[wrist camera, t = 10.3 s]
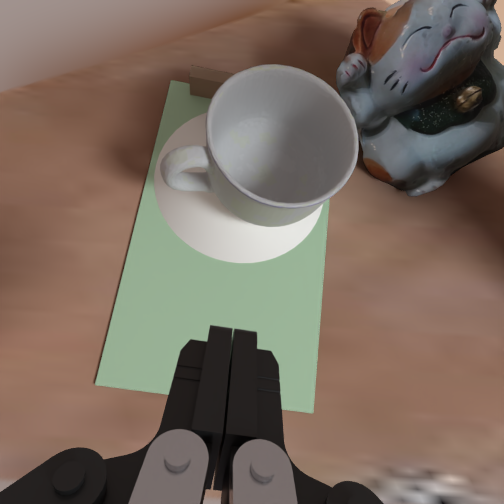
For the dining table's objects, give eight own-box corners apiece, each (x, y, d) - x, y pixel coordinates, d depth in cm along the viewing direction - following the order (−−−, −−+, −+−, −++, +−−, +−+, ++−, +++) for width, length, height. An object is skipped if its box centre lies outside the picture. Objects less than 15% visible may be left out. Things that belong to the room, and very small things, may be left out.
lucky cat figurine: (381, 217, 32) (382, 77, 21) (324, 142, 39) (302, 7, 28) (539, 145, 31) (628, -42, 20) (452, 82, 38) (481, -82, 27)
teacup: (312, 128, 34) (344, 62, 26) (335, 236, 31) (378, 197, 23) (162, 135, 31) (149, 64, 24) (172, 252, 29) (160, 214, 21)
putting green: (335, 114, 35) (344, 97, 32) (312, 412, 27) (323, 418, 24) (171, 81, 33) (168, 60, 31) (95, 384, 25) (84, 387, 23)
